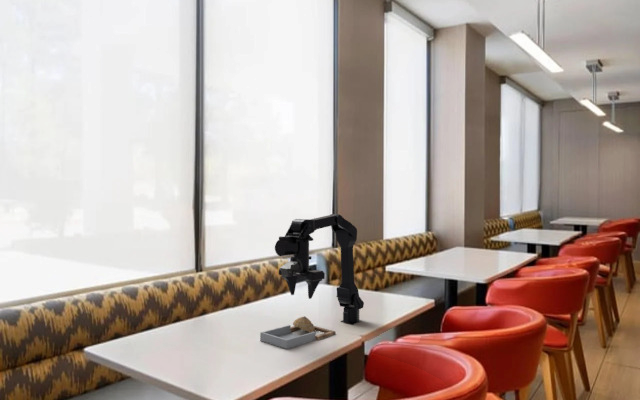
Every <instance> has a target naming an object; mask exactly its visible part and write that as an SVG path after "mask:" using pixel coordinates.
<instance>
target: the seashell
mask: <svg viewBox="0 0 640 400" xmlns="http://www.w3.org/2000/svg"><path fill="white" fill-rule="evenodd" d="M292 325H293V326H295V327H298V328H301V329H300V330H302V331H303V332H305V333H306V334H308V333H311V332H316V331H315V327H314V326H315V325H314V324H313V323H312V321H311V320H310V319H309V318H308V317H306V316H300V317H298V318H296V319H295V320H293V322H292Z"/></svg>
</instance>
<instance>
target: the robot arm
mask: <svg viewBox="0 0 640 400" xmlns="http://www.w3.org/2000/svg"><path fill="white" fill-rule="evenodd" d="M329 227H331V230H332V231H333V233H335V237H336V238H335V239H336V242H337V243H338V246H339V247H340V266H341V268H340V269H341V272H340V275H341V283H340V285H339V286H337V287H336V298H337V301H338V304H339V306H340V307H343V311H342V320H340V323H344V324H348V325H355V324H358V323H361V322H362V320H361V319H360V310H361V309H364V305H365V302H364V301H363V300H362V298H361V297H360V294H359V288H358V286H357V285H356V283H355V273H354V272H355V271H354V270H355V269H354V268H355V267H354V246H355V243H356V241H357V239H358V238H357V237H358V229H357V227H356V226H355V225H354V224H353V223H352V222H351V221H348V220H347V219H346V218H344V216H342V215H341V214H338V213H337V214H336V213H332V214H329V215H323V216H320V217H314V218H310V219H309V218H308V219H304V218H303V219H301V218H295V219H293V220H292V221H291V223H290V225H289V228H288V230H287V231H286V232H285V234H284V236H278V240H277V241H276V242H275V245H274V251H275V254H276V255H277V256H279V257H285V256H290V258H289V261H287V262H286V263H284V264H283V265H281V266H280V267H279V269H278V276H280V277H281V278H283V279H284V280H285V281H286V284H287V286H288V289H289V292H290V293H289V294H290V296H295V292H296V287H297V286H296V285H297V281H298V280H297V279H298V276H301V277H305V278H306V280H305V282H306V284H307V296H308V299H312V297H313V296H314V293H315V292H316V289H317V288H318V286H319V284H320V282H322V281H323V280H325V278H326V277H325V274H326V273H325V271H323V270H320V269H315V270H314V269H313V270H312V267H310V260H312V256H311V255H310V242H312V241H314V238H313V237H312V236H311V234H313V233H315V231H316V230H320V229H324V228H329Z"/></svg>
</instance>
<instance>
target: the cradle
mask: <svg viewBox="0 0 640 400" xmlns="http://www.w3.org/2000/svg"><path fill="white" fill-rule="evenodd" d="M314 327H315V330H316V331H315V332H319V331H320V333H321V334H318V335H316V340H315V341H320V340H323V339H325V337H326V338H328V336H329V337H331V336H334V335H336V331H335V330H332V329H327V328H324V327H320V326H317V325H316V326H315V325H314ZM299 330H302V329H301V328H298V327H295V326H294V325H293V326H291V333H293V332H296V331H299ZM323 332H324V333H323ZM322 338H323V339H322Z"/></svg>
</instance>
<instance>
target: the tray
mask: <svg viewBox="0 0 640 400" xmlns="http://www.w3.org/2000/svg"><path fill="white" fill-rule="evenodd" d="M291 327H292V326H291V325H290V324H288V325H284V326H280V327H276V328H273V329H268V330H265V331H260V333H259V335H260V338H259V339H260V341H259V342H263V343H265V344H270V345H272V346H276V347H279V348H282V349H285V350H290V349H292V348H295V347H298V346H301V345H305V344H307V343H310V342H313V341H316V340H315V339H316V336H317V335H316V332H317V331H313V332H311V333H305V334H301V335H298V334H296V333H293V332H291Z"/></svg>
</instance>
